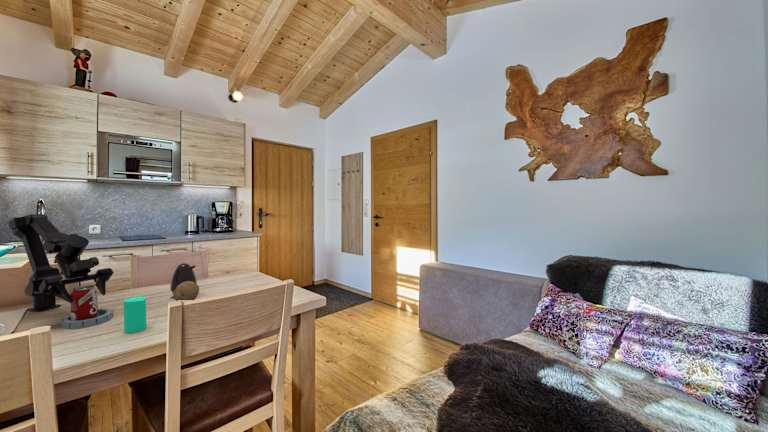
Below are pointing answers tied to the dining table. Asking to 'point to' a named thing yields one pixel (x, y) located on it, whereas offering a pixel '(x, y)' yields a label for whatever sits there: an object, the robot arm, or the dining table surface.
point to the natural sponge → (186, 291)
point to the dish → (101, 318)
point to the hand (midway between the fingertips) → (88, 298)
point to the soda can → (84, 303)
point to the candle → (134, 314)
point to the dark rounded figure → (182, 275)
